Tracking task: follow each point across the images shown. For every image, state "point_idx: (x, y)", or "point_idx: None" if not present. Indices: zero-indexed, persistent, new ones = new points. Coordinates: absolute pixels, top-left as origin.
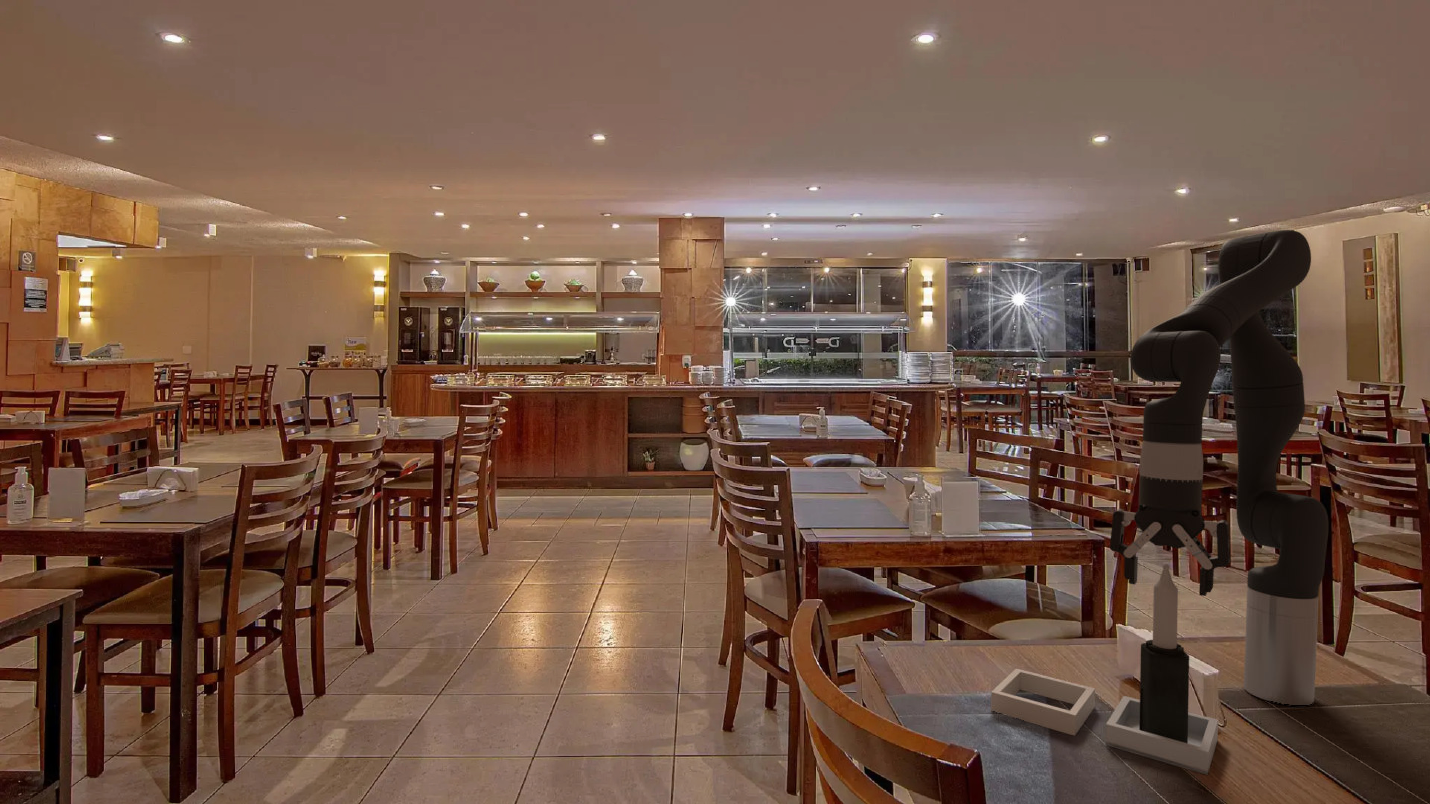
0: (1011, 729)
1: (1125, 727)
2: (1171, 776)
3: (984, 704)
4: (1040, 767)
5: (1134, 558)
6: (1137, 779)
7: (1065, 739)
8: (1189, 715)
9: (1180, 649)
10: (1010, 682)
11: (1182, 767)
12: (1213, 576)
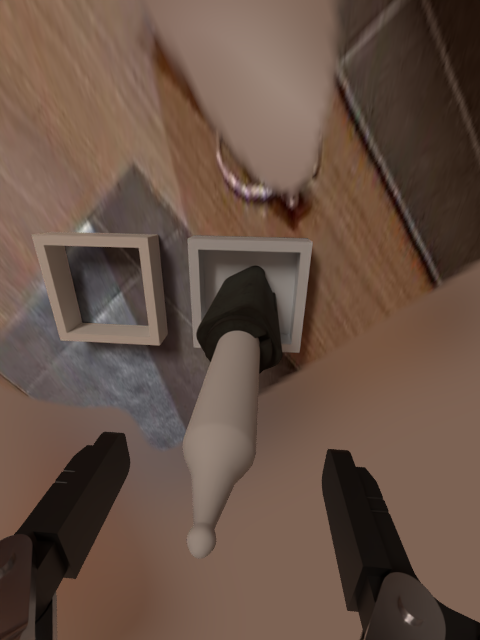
0: (114, 357)
1: None
2: None
3: None
4: (166, 409)
5: (64, 564)
6: None
7: (163, 346)
8: (276, 251)
9: (267, 359)
10: (56, 292)
11: None
12: (395, 532)
